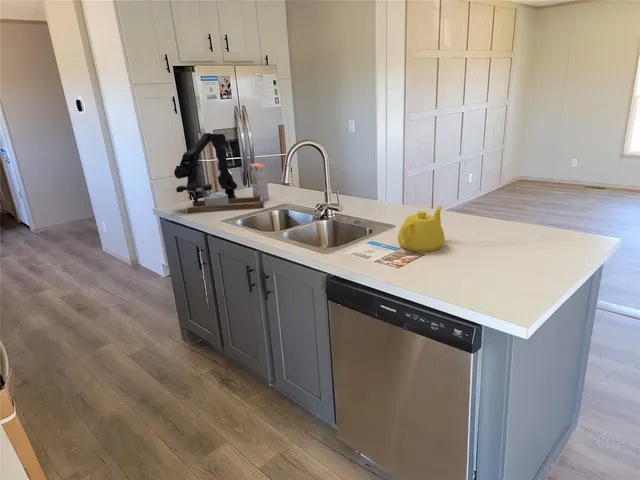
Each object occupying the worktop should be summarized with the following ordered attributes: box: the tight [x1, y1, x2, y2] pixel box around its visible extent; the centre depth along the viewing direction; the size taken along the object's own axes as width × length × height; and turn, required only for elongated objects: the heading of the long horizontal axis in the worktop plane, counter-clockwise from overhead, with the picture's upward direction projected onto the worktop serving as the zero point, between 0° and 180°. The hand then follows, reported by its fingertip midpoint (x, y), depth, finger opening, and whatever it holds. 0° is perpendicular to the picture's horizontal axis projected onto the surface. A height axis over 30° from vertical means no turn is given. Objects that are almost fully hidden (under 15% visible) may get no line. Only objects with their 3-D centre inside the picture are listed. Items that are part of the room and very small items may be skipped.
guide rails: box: [187, 195, 265, 214], centre depth 245 cm, size 17×41×4 cm, turn 96°
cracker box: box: [249, 162, 270, 202], centre depth 259 cm, size 14×6×21 cm, turn 25°
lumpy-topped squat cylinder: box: [203, 191, 230, 206], centre depth 244 cm, size 10×13×9 cm
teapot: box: [397, 205, 446, 253], centre depth 167 cm, size 25×18×14 cm
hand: (196, 203), depth 243 cm, fingers closed
